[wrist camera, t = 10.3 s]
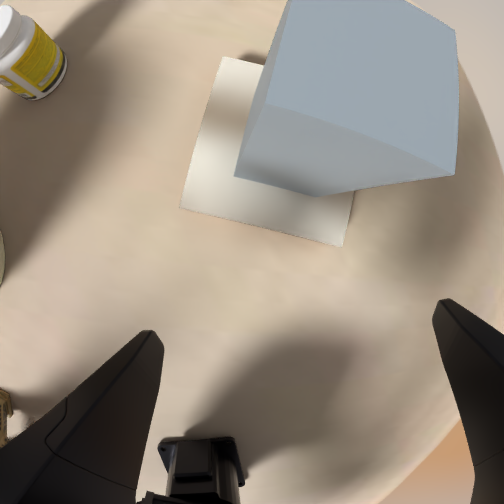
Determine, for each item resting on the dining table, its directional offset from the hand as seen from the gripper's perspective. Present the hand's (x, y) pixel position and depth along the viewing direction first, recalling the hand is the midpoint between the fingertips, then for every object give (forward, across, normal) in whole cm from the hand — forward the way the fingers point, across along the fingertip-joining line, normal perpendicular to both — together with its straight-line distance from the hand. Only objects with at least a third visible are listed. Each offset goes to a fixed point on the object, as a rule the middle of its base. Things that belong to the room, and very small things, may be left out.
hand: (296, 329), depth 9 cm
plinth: (+14, 0, 0) cm, 14 cm away
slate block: (+12, 0, +1) cm, 12 cm away
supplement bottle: (+16, -17, +10) cm, 26 cm away
